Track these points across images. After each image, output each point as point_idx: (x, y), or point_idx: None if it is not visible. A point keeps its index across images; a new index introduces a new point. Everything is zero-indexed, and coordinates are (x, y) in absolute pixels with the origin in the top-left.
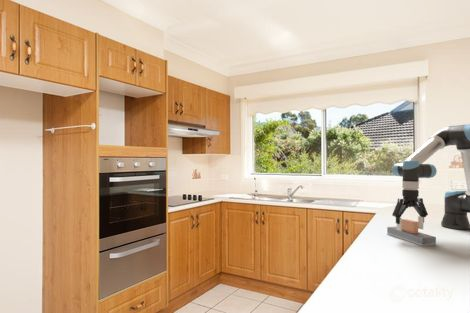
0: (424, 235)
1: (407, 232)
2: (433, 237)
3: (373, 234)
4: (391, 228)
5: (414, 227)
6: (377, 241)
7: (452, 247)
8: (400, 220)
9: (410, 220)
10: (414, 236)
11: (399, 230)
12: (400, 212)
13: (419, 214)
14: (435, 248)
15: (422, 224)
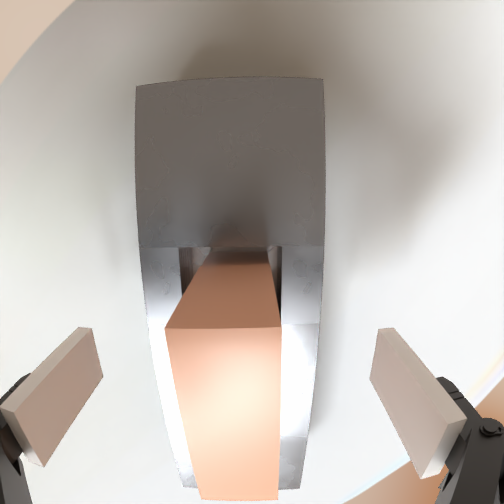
0: (203, 165)
1: (292, 323)
2: (167, 83)
3: (383, 447)
4: (303, 460)
5: (255, 289)
6: (500, 298)
7: (82, 58)
8: (447, 396)
9: (223, 432)
10: (321, 190)
11: (302, 401)
12: (489, 497)
13: (20, 473)
14: (238, 38)
15: (62, 355)
